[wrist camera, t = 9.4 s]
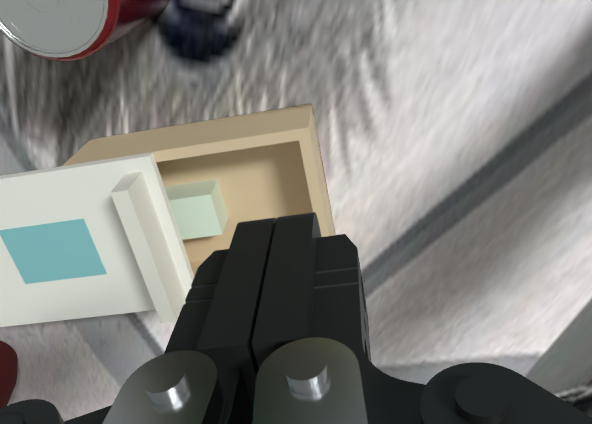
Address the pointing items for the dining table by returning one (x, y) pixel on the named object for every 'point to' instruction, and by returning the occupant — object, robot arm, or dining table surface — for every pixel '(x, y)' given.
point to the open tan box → (235, 167)
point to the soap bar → (198, 208)
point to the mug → (7, 373)
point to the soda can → (72, 24)
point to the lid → (90, 243)
